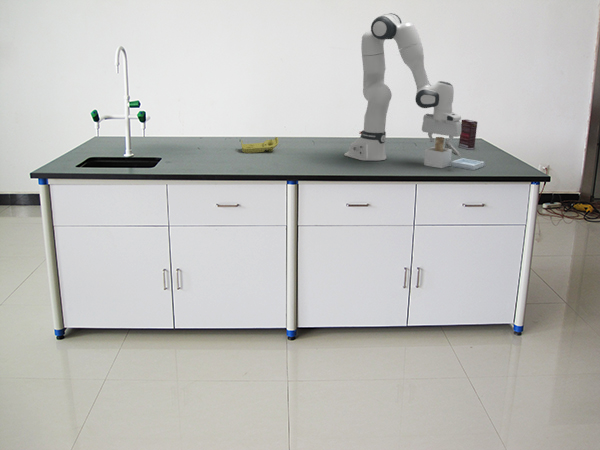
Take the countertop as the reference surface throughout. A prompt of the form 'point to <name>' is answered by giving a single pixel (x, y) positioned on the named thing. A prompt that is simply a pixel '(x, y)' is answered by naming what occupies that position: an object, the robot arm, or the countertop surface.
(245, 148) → the plastic component
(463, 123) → the supplement box
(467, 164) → the tray
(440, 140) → the dowel
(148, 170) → the countertop surface
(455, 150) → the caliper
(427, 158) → the white open box
